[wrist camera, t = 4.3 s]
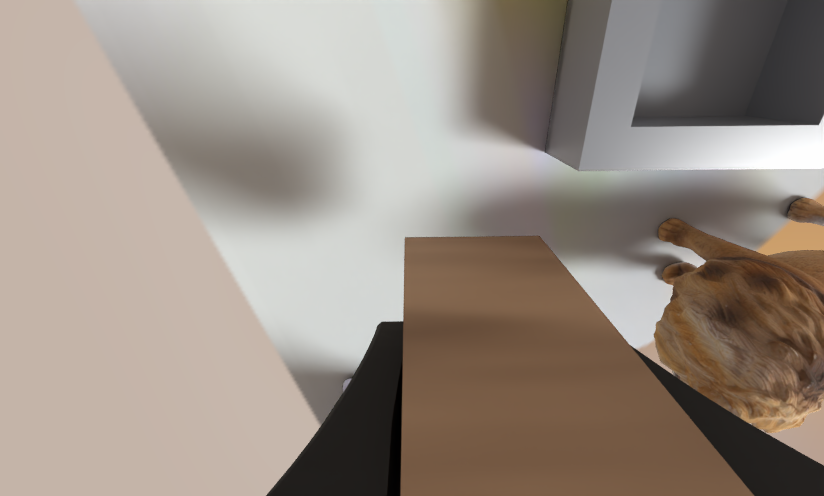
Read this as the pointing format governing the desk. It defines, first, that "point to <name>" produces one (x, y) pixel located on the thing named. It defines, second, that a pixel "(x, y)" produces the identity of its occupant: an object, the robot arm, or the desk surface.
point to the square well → (690, 85)
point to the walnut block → (532, 385)
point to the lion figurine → (747, 324)
